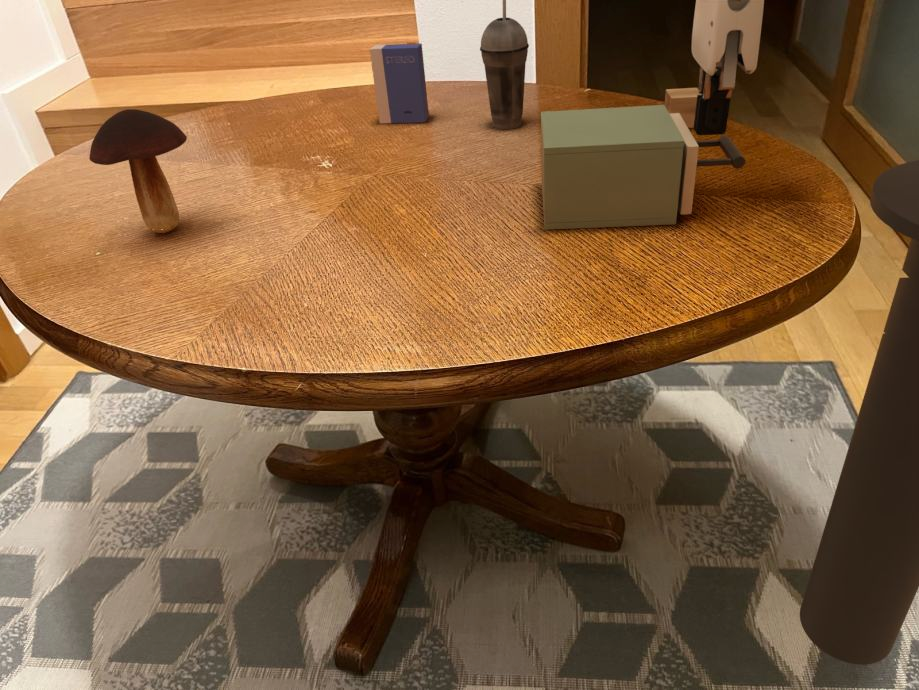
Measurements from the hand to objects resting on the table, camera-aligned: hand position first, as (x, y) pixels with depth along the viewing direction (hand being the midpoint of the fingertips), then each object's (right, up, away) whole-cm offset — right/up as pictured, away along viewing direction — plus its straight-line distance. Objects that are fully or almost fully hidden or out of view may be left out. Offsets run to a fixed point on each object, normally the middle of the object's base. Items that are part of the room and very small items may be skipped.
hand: (709, 132), depth 82 cm
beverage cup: (-20, +11, +33) cm, 40 cm away
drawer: (-6, -6, +5) cm, 10 cm away
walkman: (-37, +13, +39) cm, 55 cm away
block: (+5, +9, +27) cm, 29 cm away
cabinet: (-11, -7, +6) cm, 14 cm away
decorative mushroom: (-64, -10, +9) cm, 66 cm away
